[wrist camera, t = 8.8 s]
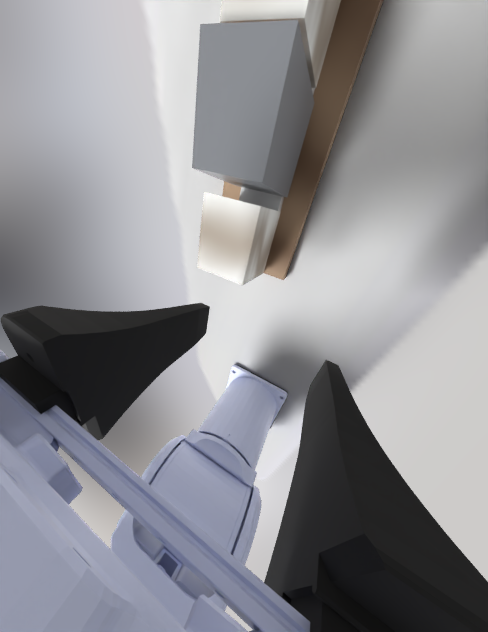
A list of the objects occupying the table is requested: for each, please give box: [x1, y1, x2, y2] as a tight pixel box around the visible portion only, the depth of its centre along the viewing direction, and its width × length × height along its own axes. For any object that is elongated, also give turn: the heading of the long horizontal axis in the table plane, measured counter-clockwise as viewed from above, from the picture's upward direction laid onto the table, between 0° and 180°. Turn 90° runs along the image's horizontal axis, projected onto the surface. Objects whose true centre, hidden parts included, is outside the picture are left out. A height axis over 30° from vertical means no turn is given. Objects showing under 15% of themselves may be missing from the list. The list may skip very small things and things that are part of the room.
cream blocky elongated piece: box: [197, 0, 383, 285], centre depth 12 cm, size 17×8×6 cm, turn 166°
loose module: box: [192, 20, 314, 198], centre depth 11 cm, size 5×4×6 cm
